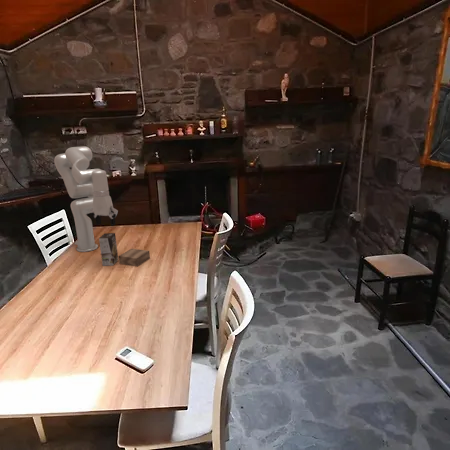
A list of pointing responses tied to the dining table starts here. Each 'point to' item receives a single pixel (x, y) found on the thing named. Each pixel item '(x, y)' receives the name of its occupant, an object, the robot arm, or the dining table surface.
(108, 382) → the dining table surface
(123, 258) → the walnut block
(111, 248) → the coffee box
